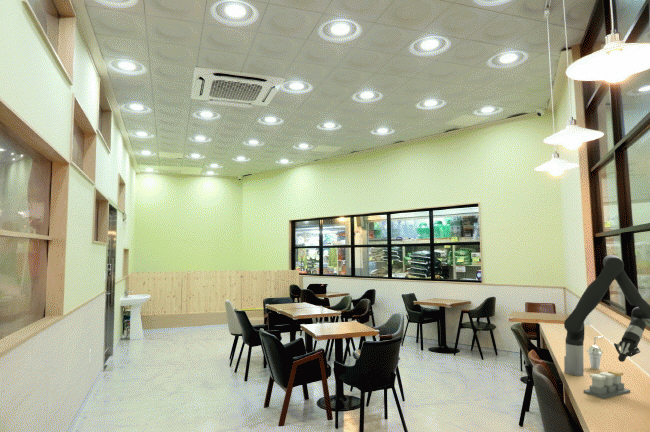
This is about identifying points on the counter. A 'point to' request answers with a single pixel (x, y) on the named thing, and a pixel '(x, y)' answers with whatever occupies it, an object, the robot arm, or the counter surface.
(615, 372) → the amber key
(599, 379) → the front key
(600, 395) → the keypad
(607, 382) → the middle key
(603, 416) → the counter surface
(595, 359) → the cup with straw
